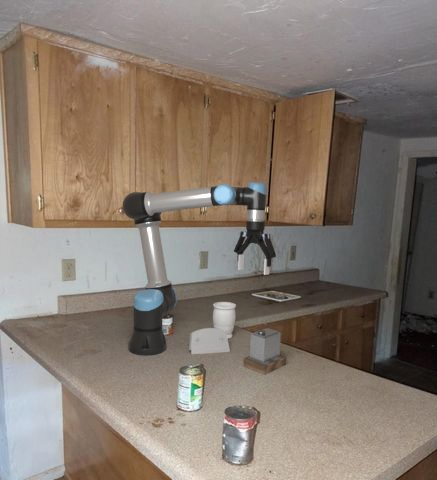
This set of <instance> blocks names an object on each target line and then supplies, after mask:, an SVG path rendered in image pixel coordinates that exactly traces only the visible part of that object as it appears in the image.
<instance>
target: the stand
mask: <svg viewBox="0 0 437 480" xmlns="http://www.w3.org/2000/svg"><path fill="white" fill-rule="evenodd" d="M286 358H287V357H286V356H284V355H280V356H279V357H276V358H274V359H272V360H270V361H267V362H265V363H262V362H259V361H257V360H254V359H252V358H250V355H248V356H246V357H244V358H243V364H242V367H244V368H247V369H250V370H252V371H254V370H255V372H257V373H259V374H261V375H263V376H264V375H267V374H270V373H271V372H273V371H275V370H277V369H280V368H281V367H283V366H286V361H287V360H286Z"/></svg>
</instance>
